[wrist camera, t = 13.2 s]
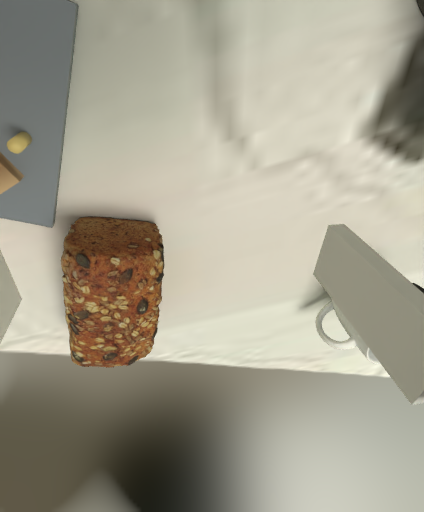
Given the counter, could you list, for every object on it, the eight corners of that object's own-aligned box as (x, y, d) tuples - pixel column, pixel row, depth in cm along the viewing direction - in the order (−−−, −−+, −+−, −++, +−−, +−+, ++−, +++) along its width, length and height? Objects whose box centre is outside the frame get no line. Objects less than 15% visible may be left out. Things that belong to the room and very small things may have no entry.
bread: (72, 211, 34) (54, 259, 26) (163, 219, 37) (172, 264, 29) (77, 323, 44) (66, 383, 36) (149, 321, 47) (153, 377, 39)
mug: (310, 323, 57) (350, 385, 46) (292, 290, 50) (334, 353, 40) (380, 285, 55) (439, 340, 45) (371, 246, 48) (437, 300, 38)
